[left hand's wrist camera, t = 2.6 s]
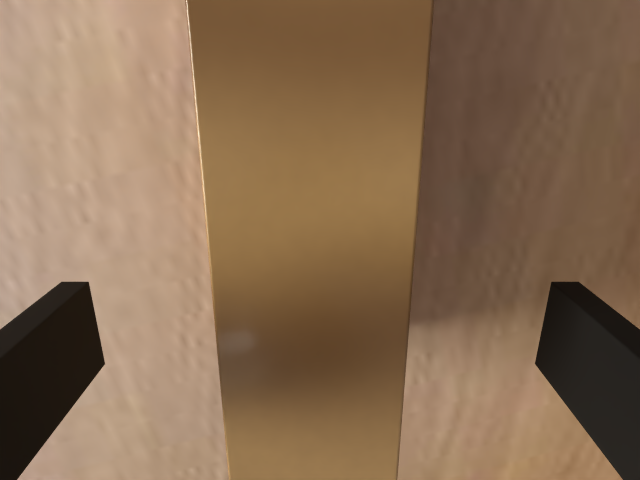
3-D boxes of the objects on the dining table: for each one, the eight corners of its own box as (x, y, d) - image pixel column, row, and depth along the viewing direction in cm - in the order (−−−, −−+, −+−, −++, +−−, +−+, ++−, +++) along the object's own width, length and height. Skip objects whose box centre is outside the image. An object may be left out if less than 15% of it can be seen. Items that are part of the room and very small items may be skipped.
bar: (362, 331, 20) (396, 500, 12) (264, 332, 20) (230, 502, 12) (388, -344, 12) (522, -1125, 4) (231, -346, 12) (78, -1142, 4)
